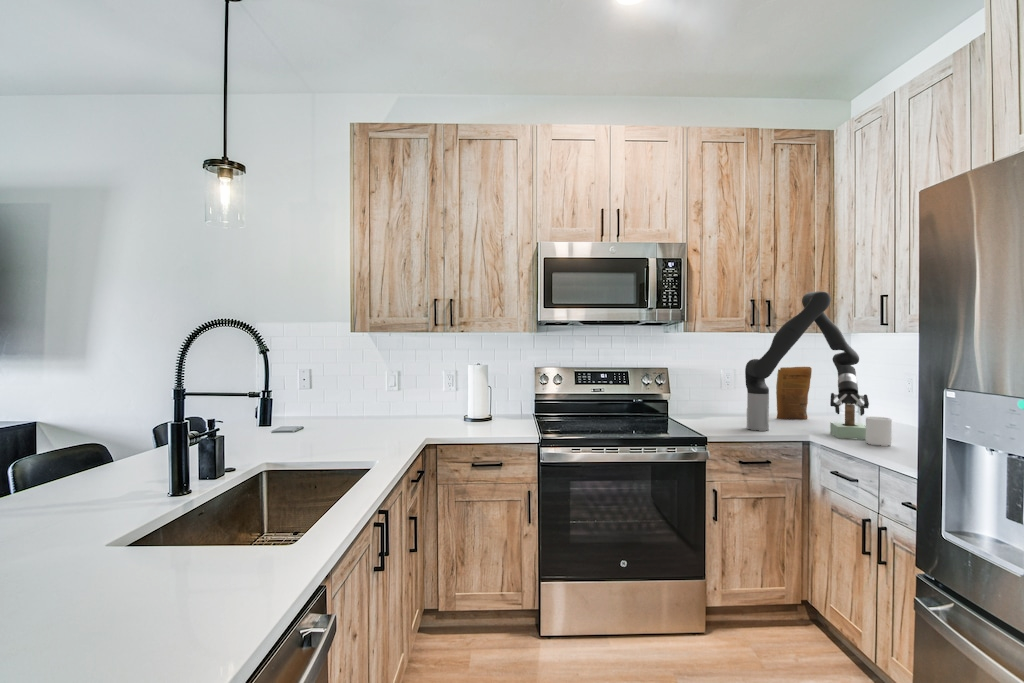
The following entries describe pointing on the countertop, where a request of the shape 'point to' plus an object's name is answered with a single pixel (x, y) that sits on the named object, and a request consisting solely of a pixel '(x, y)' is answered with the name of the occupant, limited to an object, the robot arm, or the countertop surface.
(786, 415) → the pancake mix bag
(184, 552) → the countertop surface
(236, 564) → the countertop surface
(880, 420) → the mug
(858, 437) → the socket block
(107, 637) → the countertop surface
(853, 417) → the dowel
